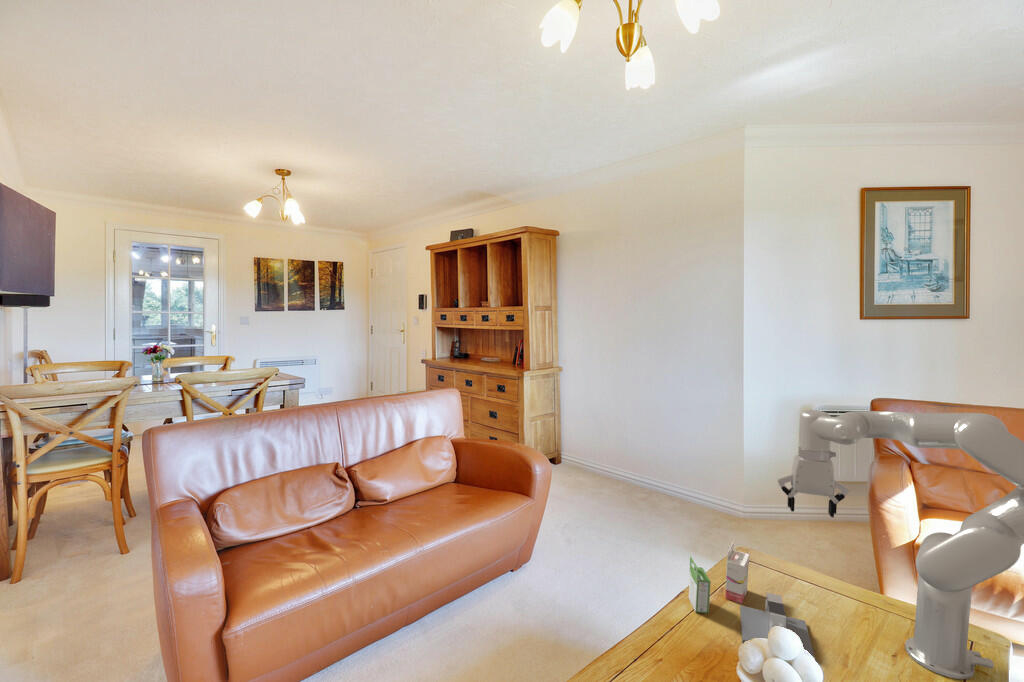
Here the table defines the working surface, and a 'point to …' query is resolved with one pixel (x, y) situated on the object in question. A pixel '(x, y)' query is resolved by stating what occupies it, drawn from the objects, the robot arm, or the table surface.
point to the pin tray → (757, 628)
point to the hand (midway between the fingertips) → (811, 512)
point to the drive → (775, 611)
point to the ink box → (699, 588)
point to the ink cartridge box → (736, 575)
